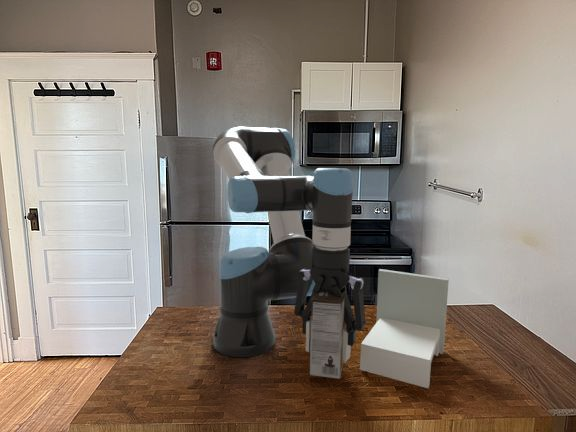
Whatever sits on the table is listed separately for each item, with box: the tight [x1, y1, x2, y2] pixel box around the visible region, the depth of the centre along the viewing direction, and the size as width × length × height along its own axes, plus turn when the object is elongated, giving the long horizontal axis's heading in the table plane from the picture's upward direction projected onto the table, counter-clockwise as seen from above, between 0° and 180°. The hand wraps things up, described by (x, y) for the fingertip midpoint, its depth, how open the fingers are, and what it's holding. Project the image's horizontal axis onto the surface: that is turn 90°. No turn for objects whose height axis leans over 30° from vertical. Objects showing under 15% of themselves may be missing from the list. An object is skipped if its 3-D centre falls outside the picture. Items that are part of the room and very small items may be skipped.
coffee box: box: [309, 285, 347, 379], centre depth 77 cm, size 9×6×16 cm
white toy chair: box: [359, 268, 450, 389], centre depth 84 cm, size 16×18×18 cm
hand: (327, 353), depth 78 cm, fingers closed on coffee box, 7 cm apart
